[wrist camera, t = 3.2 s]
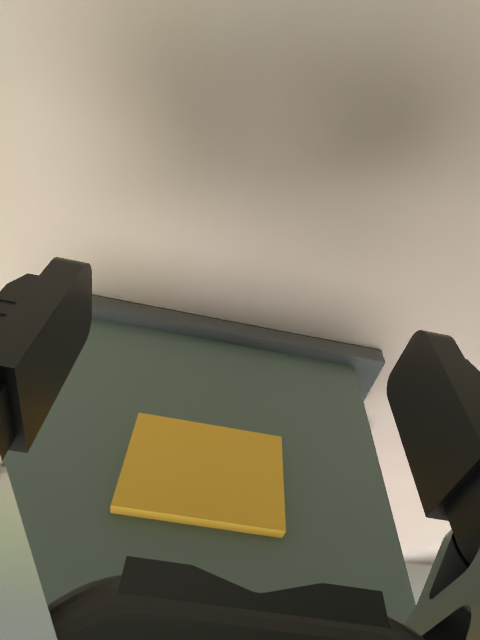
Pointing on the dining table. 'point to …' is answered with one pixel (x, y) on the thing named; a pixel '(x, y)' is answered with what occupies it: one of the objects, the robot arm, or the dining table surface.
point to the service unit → (210, 459)
